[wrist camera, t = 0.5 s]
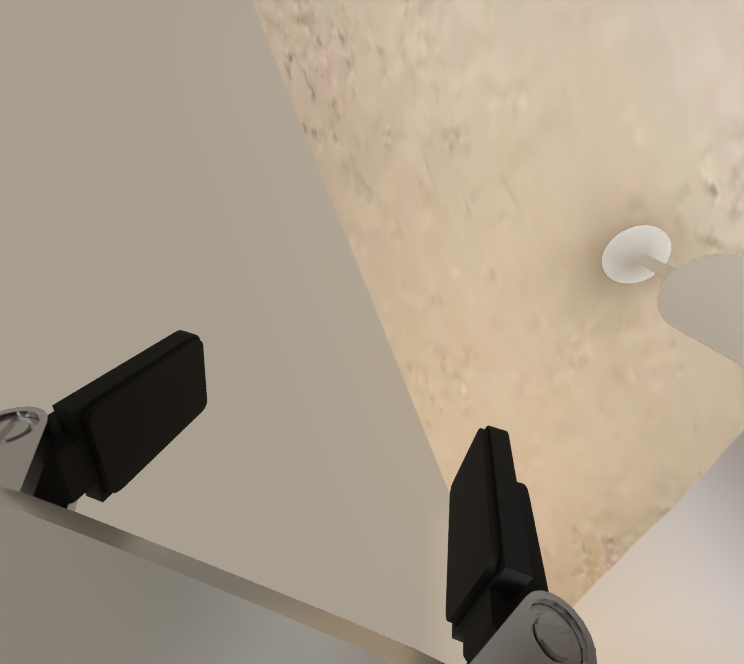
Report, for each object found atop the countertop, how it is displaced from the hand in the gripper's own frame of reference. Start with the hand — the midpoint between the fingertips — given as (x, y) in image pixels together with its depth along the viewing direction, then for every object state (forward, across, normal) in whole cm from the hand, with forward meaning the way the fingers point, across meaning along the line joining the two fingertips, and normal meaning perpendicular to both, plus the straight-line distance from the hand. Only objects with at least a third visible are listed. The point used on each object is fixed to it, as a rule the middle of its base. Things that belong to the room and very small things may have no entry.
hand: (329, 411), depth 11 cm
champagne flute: (+36, -24, -2) cm, 43 cm away
